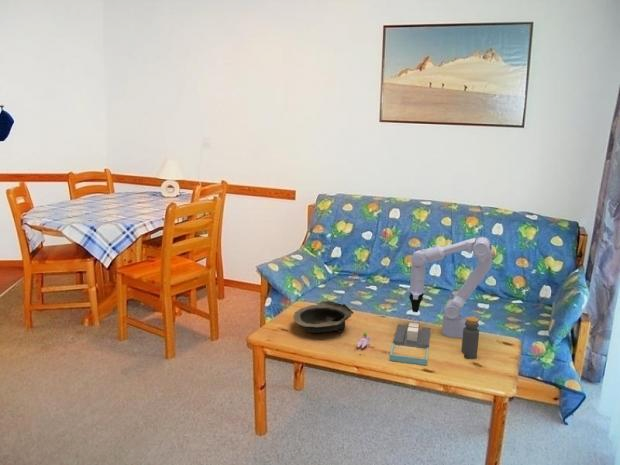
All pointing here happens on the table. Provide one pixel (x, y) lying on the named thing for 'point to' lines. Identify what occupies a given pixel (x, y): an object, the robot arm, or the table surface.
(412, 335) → the beige cube
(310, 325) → the stone bowl
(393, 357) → the tray
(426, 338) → the slotted plate
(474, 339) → the bottle
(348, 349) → the table surface
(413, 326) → the cream cube block
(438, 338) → the table surface
